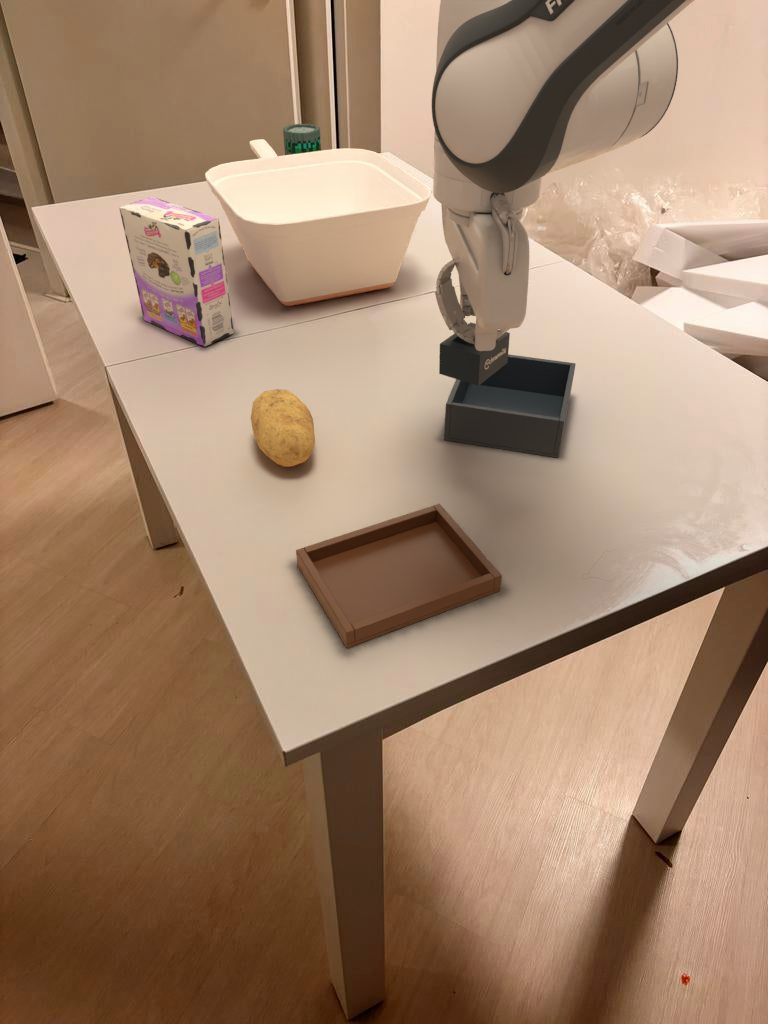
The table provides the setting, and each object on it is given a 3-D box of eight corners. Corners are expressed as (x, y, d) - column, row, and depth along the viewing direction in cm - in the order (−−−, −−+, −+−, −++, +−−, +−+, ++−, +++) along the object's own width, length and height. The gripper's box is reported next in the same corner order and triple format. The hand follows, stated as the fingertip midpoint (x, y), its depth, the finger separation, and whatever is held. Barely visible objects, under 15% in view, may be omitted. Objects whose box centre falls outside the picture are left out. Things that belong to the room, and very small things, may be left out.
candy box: (236, 333, 113) (221, 216, 103) (204, 349, 110) (185, 229, 99) (173, 306, 120) (152, 193, 109) (141, 320, 116) (116, 205, 106)
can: (298, 223, 146) (292, 135, 136) (285, 213, 150) (278, 126, 140) (328, 217, 148) (324, 130, 138) (314, 207, 152) (310, 122, 143)
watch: (496, 391, 73) (504, 275, 67) (423, 369, 77) (424, 256, 71) (526, 367, 77) (536, 254, 70) (454, 346, 81) (458, 237, 74)
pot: (260, 334, 113) (249, 229, 103) (187, 228, 144) (173, 139, 134) (441, 298, 122) (446, 198, 112) (335, 205, 153) (332, 121, 143)
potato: (304, 421, 96) (300, 375, 92) (327, 474, 88) (324, 427, 84) (248, 430, 95) (242, 384, 90) (266, 486, 86) (261, 438, 82)
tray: (438, 518, 82) (439, 503, 81) (500, 590, 74) (502, 575, 73) (296, 565, 77) (295, 549, 76) (346, 648, 69) (346, 633, 68)
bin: (569, 397, 100) (575, 363, 97) (558, 458, 90) (564, 421, 87) (465, 383, 103) (468, 348, 100) (443, 439, 93) (445, 403, 90)
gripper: (558, 217, 58) (536, 384, 67) (500, 138, 73) (489, 282, 82) (471, 220, 57) (461, 388, 66) (431, 141, 73) (428, 285, 82)
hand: (476, 329), depth 74 cm, fingers closed on watch, 5 cm apart
